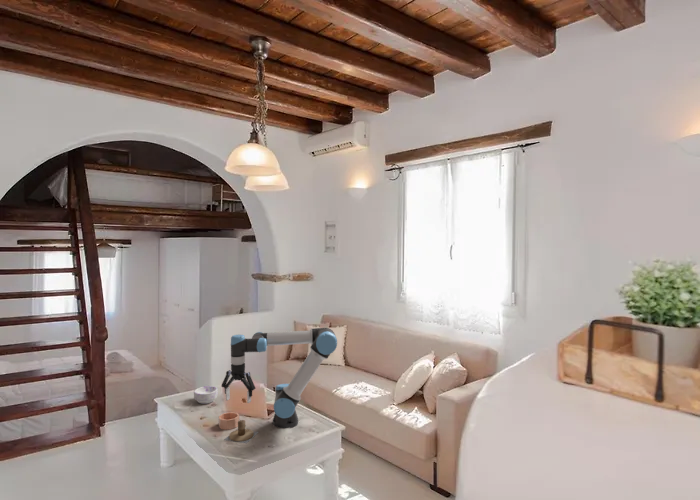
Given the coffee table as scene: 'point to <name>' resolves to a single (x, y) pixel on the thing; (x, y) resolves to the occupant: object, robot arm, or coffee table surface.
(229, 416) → the bowl
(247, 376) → the robot arm
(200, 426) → the coffee table surface
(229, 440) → the mat
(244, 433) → the lid
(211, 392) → the paper bowls
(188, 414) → the coffee table surface
